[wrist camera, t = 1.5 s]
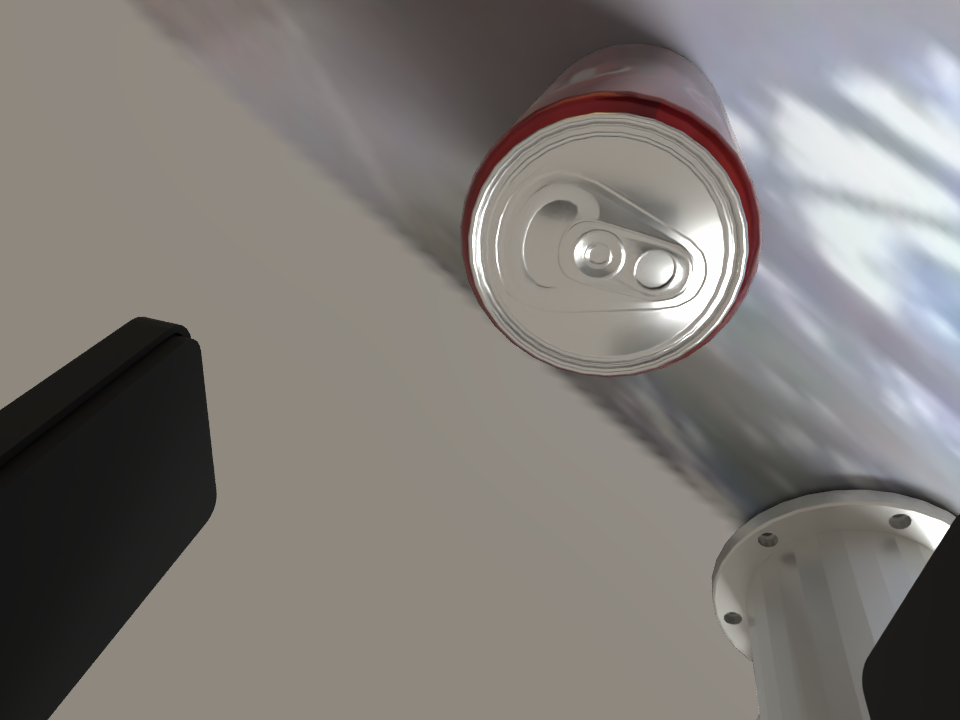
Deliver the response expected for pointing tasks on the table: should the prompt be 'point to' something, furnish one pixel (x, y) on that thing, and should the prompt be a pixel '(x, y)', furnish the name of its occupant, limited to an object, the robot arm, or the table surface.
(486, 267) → the soda can
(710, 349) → the table surface
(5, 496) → the robot arm
